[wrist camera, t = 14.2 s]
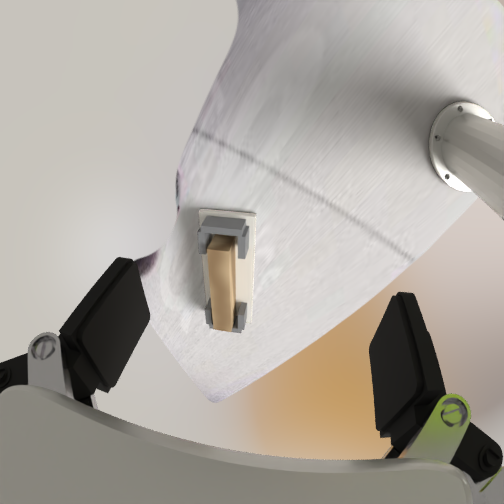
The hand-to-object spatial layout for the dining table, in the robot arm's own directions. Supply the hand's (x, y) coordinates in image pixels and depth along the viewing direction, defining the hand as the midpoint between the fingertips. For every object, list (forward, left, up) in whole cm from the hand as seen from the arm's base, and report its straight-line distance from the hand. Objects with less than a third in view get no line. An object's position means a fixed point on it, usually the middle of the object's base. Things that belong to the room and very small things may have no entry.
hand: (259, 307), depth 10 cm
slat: (+8, +22, -27) cm, 36 cm away
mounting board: (+8, +21, -28) cm, 36 cm away
